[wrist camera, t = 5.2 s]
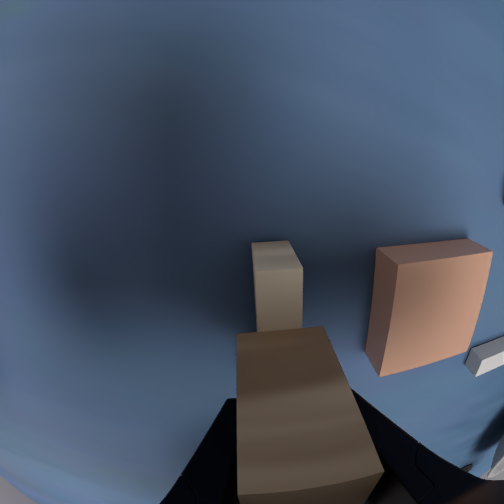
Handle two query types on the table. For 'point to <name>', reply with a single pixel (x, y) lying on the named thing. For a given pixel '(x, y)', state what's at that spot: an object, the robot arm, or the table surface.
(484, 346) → the corral
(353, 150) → the table surface
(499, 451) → the dish
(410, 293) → the tile
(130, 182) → the table surface
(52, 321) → the table surface
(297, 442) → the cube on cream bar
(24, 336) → the table surface
